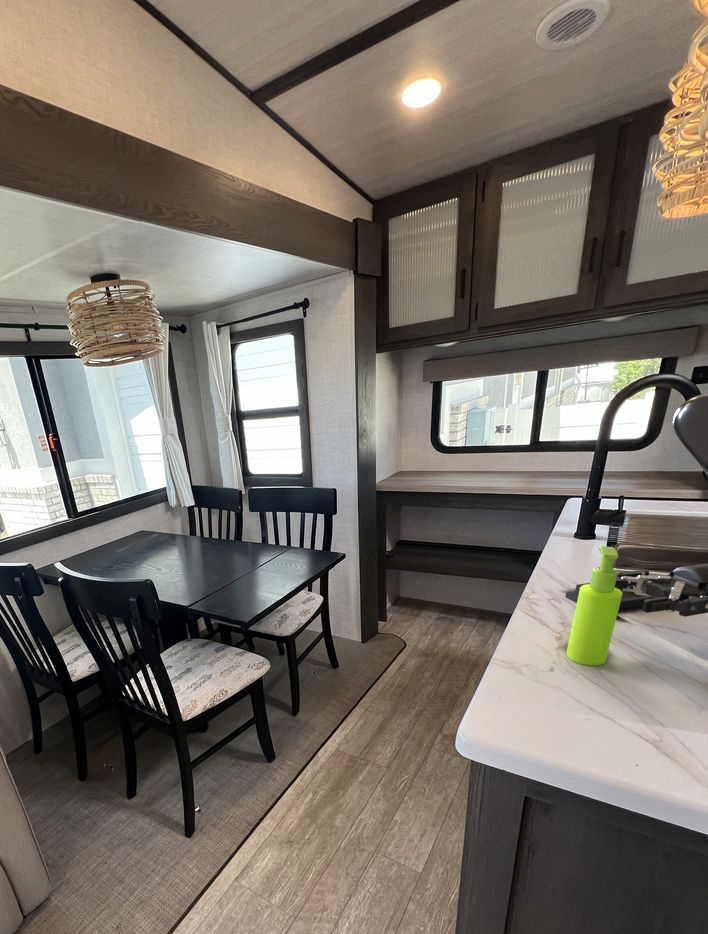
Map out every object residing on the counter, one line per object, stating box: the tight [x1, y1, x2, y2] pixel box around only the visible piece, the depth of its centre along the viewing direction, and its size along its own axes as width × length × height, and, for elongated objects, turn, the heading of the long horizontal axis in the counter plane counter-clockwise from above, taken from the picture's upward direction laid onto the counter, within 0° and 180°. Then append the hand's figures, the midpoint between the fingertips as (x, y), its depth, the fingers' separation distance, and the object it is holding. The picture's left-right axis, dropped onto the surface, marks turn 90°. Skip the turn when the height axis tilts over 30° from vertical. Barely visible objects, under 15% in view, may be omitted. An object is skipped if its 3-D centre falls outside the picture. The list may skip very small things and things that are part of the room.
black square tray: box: [564, 582, 654, 619], centre depth 101 cm, size 14×12×3 cm
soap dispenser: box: [566, 546, 623, 667], centre depth 80 cm, size 6×7×20 cm
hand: (622, 596), depth 80 cm, fingers open, 8 cm apart
